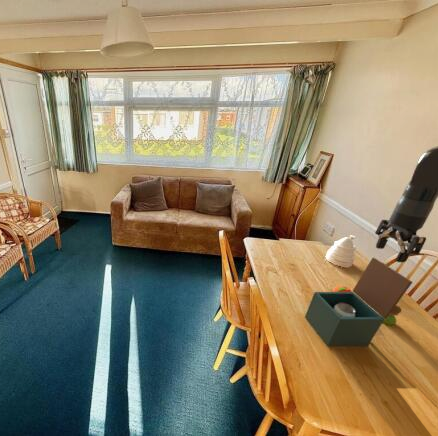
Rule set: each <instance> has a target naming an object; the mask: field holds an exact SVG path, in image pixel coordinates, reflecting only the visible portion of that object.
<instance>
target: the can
mask: <svg viewBox="0 0 438 436" xmlns="http://www.w3.org/2000/svg"><path fill="white" fill-rule="evenodd" d="M334 310H335V311H336V312H337V313H338V314H339V315H340V317H355V309H354V308H353V307H352V306H350V305H348V304H346V303H342V302H340V303H338V304H337V305H335V307H334Z"/></svg>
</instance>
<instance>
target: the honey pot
mask: <svg viewBox="0 0 438 436" xmlns="http://www.w3.org/2000/svg"><path fill="white" fill-rule="evenodd" d="M354 239H356V235H353V234H350V235H349V237H348V236H347V237H343V238H341V239H339V240H335V241H334V244H333V245H332V246H331V247H330V248H329V249H328V250H327V252H326V254H325V257H326V259H327V260H328V261H329V262H331V263H333V264H335V265H338V266H341V267H340V268H342V267H350V266H351V267H352V266H353V263H354V262H355V260H356V259H355V250H356V249H357V247H356V245H355V244H354V243H353V242H354V241H353V240H354ZM326 259H325V260H326ZM328 261H327V262H328ZM329 262H328V263H329ZM331 263H330V264H331ZM333 264H332V265H333ZM335 265H334V266H335ZM338 266H337V267H338ZM351 267H350V268H351Z"/></svg>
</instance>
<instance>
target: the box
mask: <svg viewBox="0 0 438 436" xmlns="http://www.w3.org/2000/svg"><path fill="white" fill-rule="evenodd" d="M340 302H342V303H346V304H348V305H350V306H352V307H353V308H354V309H355V317H340V315H339V314H338V313H337V312H336V311H335V310H334V307H335V305H337V304H338V303H340ZM304 318H305V319H306V321H307V322H308V323H309V325H310V326H311V327H312V328H313V330H314V331H315V332H316V334H317V336H319V338H320V339H321V341H323V343H324V344H325V345H326V346H327V347H369V345H371V342H372V340H373V339H374V337H376V334H377V333H378V330H379V329H380V327H381V326H382V324H383V321H384V319H383V318H382V317H381V316H380V315H379V314H378V313H377V312H376V311H375V310H374V309H373V308H371V307H370V306H369V305H368V304H367V303H366V302H365V301H363V300H362V299H361V298H360V297H359V296H358V295H356V294H355V293H354V292H353V291H352V292H334V291H314V292H313V296H312V298H311V301H310V302H309V305H308V308H307V310H306V313H305V315H304Z"/></svg>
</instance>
